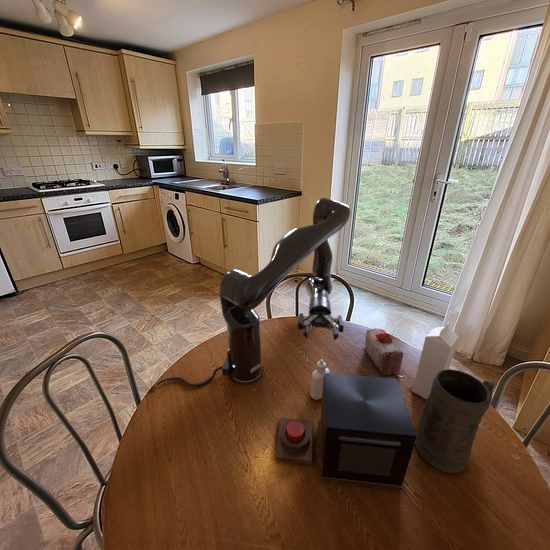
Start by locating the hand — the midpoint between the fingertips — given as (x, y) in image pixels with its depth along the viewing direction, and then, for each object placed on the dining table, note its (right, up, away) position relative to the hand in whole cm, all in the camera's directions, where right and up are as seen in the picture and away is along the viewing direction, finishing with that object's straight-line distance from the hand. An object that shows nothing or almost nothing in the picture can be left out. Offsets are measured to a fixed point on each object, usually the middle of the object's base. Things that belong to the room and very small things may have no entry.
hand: (320, 336), depth 87 cm
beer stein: (+26, -21, -20) cm, 39 cm away
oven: (+5, -22, -21) cm, 31 cm away
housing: (-9, -21, -19) cm, 29 cm away
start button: (-9, -18, -20) cm, 28 cm away
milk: (+29, -14, -5) cm, 33 cm away
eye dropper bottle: (-1, -15, -6) cm, 16 cm away
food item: (+20, -9, +7) cm, 23 cm away
